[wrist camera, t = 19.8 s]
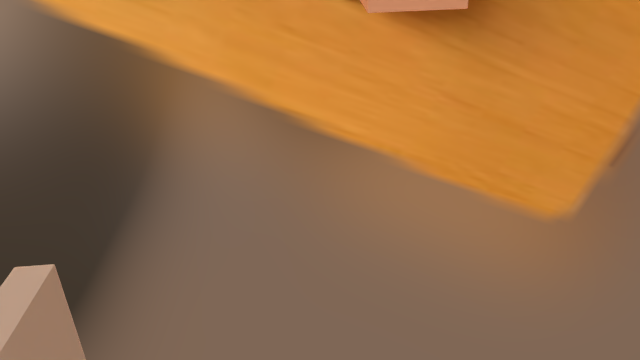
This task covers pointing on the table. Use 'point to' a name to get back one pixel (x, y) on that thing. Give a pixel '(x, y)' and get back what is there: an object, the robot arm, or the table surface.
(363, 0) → the block
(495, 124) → the table surface
